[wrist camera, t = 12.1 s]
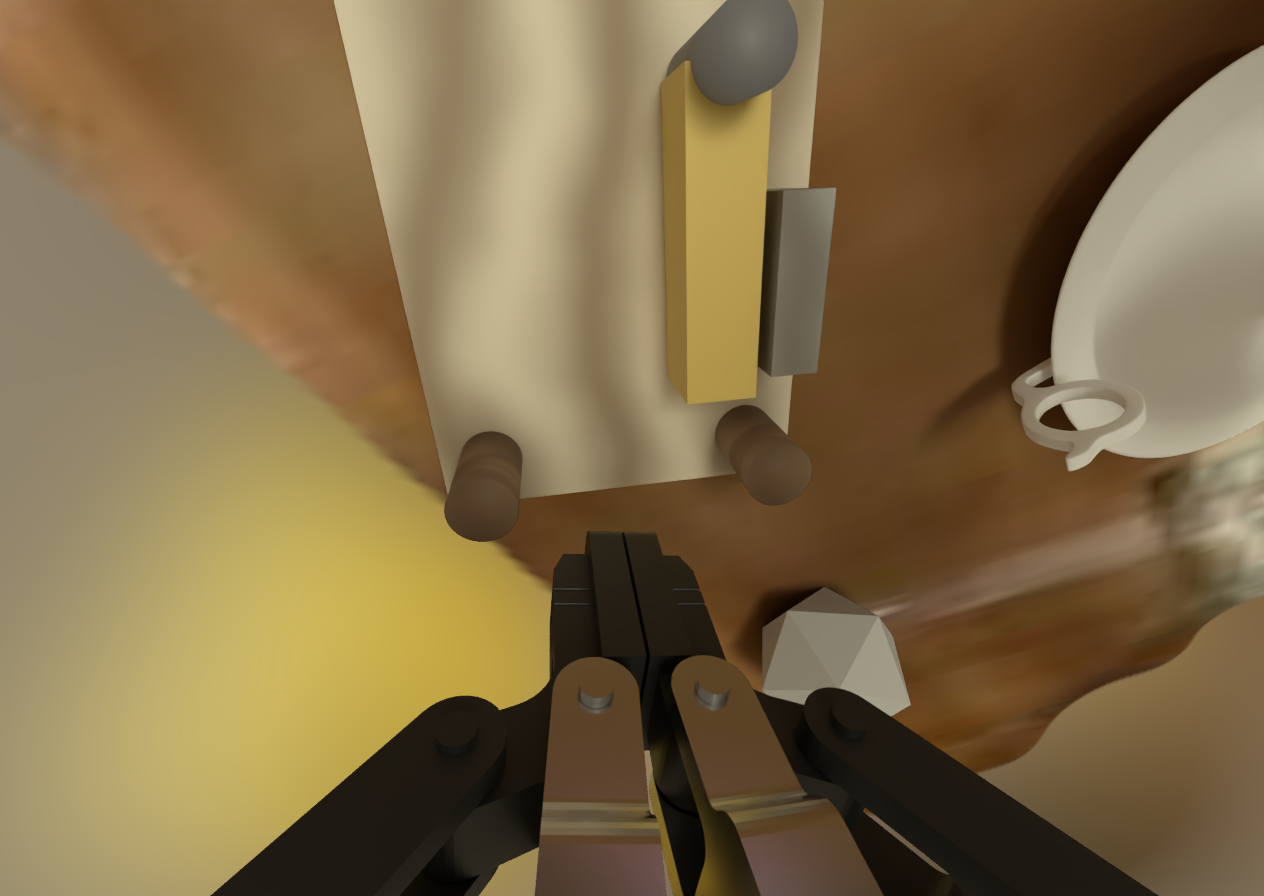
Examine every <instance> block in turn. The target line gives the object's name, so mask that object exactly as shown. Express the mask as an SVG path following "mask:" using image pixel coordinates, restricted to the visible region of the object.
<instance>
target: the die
mask: <svg viewBox="0 0 1264 896" xmlns="http://www.w3.org/2000/svg"><path fill="white" fill-rule="evenodd" d="M825 687H834V688H840V689H844V690H847V691H850V692H852V693H854V694H857V695H859V696H860V697H862V698H864V699H865V700H867V701H868V702H870V703H871V704H873V705H874V706H876V707H877V708H879V709H880V710H882V711H883V712H885V713H886V714H888V715H889V716H892V715H894V714H896V713H897V712H899V711H901V710H902V709H904V708H906V707H907V706H909V705H911V704H910V700H909V697H908V693H907V689H906V685H905V681H904V678H903V674H902V670H901V666H900V662H899V659H898V655H897V651H896V647H895V644H894V640H893V636H892V635H891V633H890V632H889V631H888V629H887V628H886V626H885V625H884V623H883V622H882V621H881V619H880V618H879V616H877V615H875V614H874V613H872V612H870V611H868V610H866V609H865V608H863V607H861V606H859V605H857V604H855V603H854V602H852V601H850V600H848V599H846V598H845V597H843V596H841V595H839V594H837V593H836V592H834V591H832V590H830V589H828V588H826V587H823V588H822V589H820V590H819V591H817V592H816V593H814V594H813V595H811V596H809V597H808V598H806V599H805V600H803V601H802V602H800V603H799V604H797V605H796V606H794V607H793V608H791V609H789V610H788V611H786V612H785V613H783V614H782V615H781V616H779V617H778V618H776V619H775V620H773V621H772V622H770V623H769V624H767V625H766V626H764V627H763V628H762V691H763V692H765V693H766V694H767V695H769V696H772V697H776V698H780V699H784V700H788V701H792V702H795V703H799V704H803V705H804V704H805V701H806V699H807V697H808V696H809V694H811V693H812V692H813V691H815V690H817V689H820V688H825Z"/></svg>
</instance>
